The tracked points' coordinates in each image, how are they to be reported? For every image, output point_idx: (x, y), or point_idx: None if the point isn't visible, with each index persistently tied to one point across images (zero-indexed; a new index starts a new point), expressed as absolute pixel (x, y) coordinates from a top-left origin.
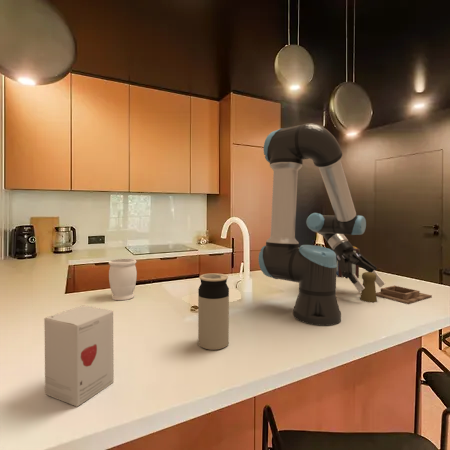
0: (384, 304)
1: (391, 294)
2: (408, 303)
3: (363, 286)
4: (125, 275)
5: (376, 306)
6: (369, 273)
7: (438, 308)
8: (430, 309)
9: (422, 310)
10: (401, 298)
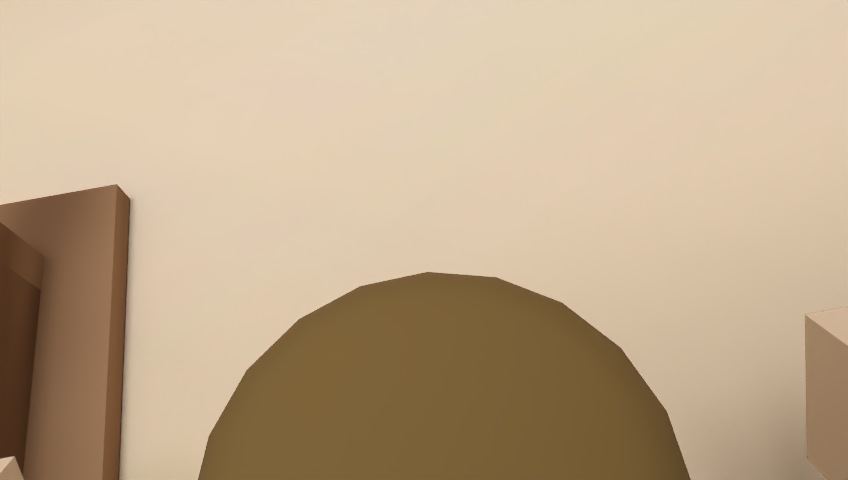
0: None
1: None
2: (118, 195)
3: (844, 331)
4: None
5: (612, 262)
6: (529, 380)
7: (9, 16)
8: (116, 17)
9: (224, 17)
10: (35, 308)
